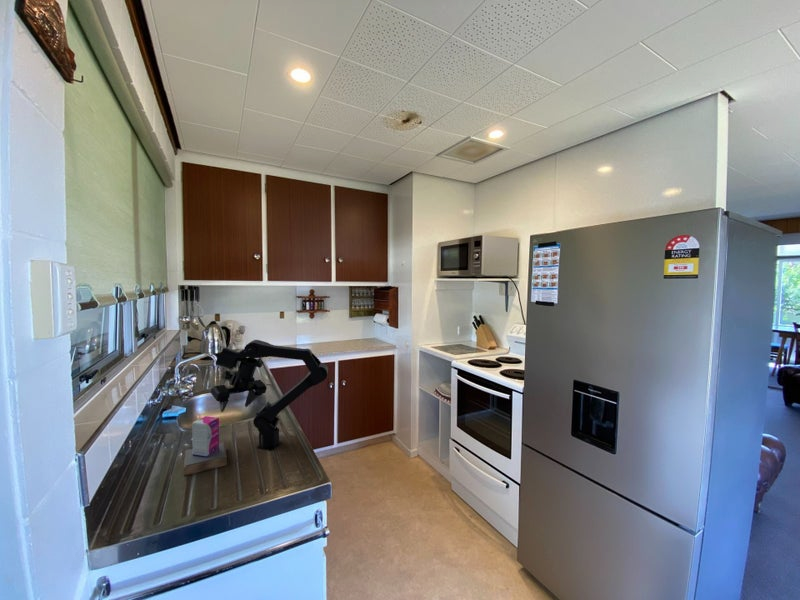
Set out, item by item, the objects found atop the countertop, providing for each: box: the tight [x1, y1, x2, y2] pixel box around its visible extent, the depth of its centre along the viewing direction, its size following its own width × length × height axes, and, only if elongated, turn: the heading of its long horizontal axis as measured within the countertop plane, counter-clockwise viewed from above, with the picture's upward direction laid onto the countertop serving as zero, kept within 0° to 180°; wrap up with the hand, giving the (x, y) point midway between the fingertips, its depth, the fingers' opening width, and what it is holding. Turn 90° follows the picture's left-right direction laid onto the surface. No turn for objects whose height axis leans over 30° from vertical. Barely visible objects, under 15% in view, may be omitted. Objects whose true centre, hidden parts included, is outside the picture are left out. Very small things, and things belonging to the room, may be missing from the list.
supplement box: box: [192, 415, 220, 458], centre depth 113 cm, size 6×6×12 cm
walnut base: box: [183, 441, 228, 476], centre depth 113 cm, size 12×12×3 cm
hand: (233, 408), depth 125 cm, fingers open, 9 cm apart
